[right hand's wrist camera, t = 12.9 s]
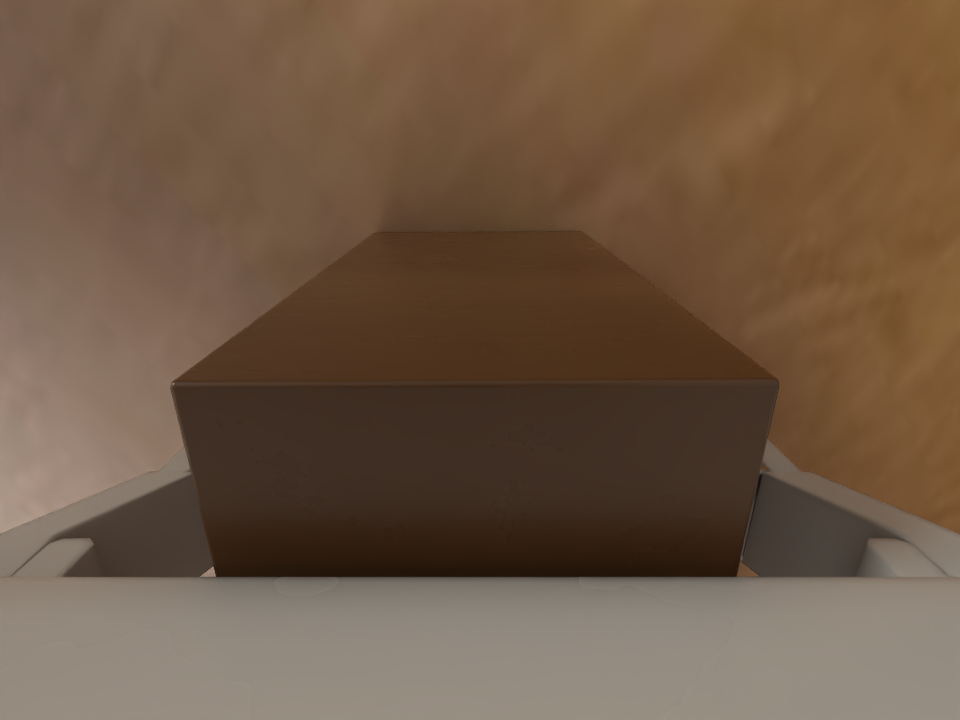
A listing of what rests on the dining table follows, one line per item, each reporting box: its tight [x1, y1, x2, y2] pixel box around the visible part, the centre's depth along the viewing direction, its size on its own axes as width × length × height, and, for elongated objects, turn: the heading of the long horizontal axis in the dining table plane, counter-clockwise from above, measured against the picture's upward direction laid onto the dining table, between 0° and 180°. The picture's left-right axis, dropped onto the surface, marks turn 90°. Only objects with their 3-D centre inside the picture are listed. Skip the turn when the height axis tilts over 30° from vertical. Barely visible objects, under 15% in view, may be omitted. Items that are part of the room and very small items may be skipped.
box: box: [171, 231, 779, 577], centre depth 14 cm, size 21×6×10 cm, turn 0°
